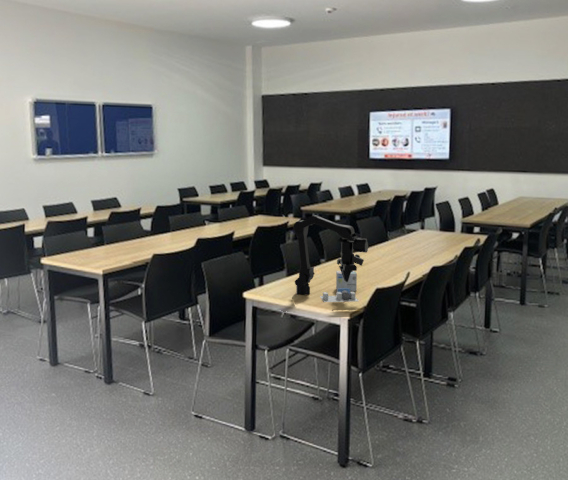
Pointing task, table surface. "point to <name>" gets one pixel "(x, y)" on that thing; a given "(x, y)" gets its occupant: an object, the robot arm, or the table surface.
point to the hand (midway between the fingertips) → (346, 281)
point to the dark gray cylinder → (345, 295)
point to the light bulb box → (343, 284)
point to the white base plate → (338, 296)
